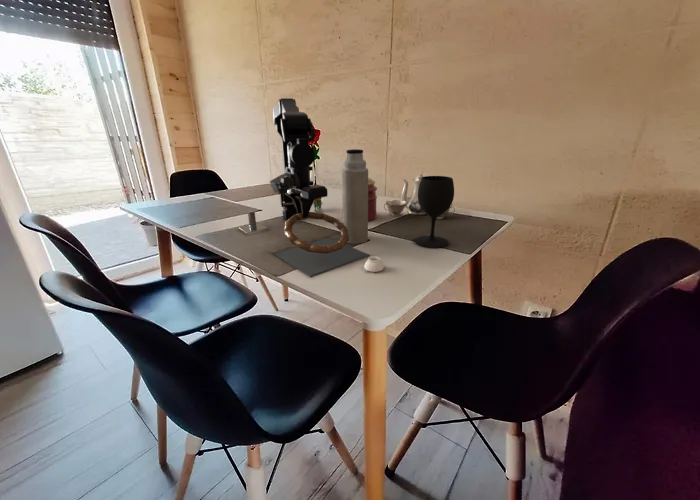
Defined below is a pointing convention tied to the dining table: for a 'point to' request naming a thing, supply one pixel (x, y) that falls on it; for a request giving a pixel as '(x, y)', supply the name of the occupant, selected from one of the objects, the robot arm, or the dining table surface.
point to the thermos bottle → (355, 196)
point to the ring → (316, 248)
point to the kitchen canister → (371, 200)
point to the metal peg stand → (252, 224)
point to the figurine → (317, 203)
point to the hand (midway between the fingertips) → (302, 217)
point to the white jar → (374, 264)
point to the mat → (319, 257)
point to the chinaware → (410, 201)
